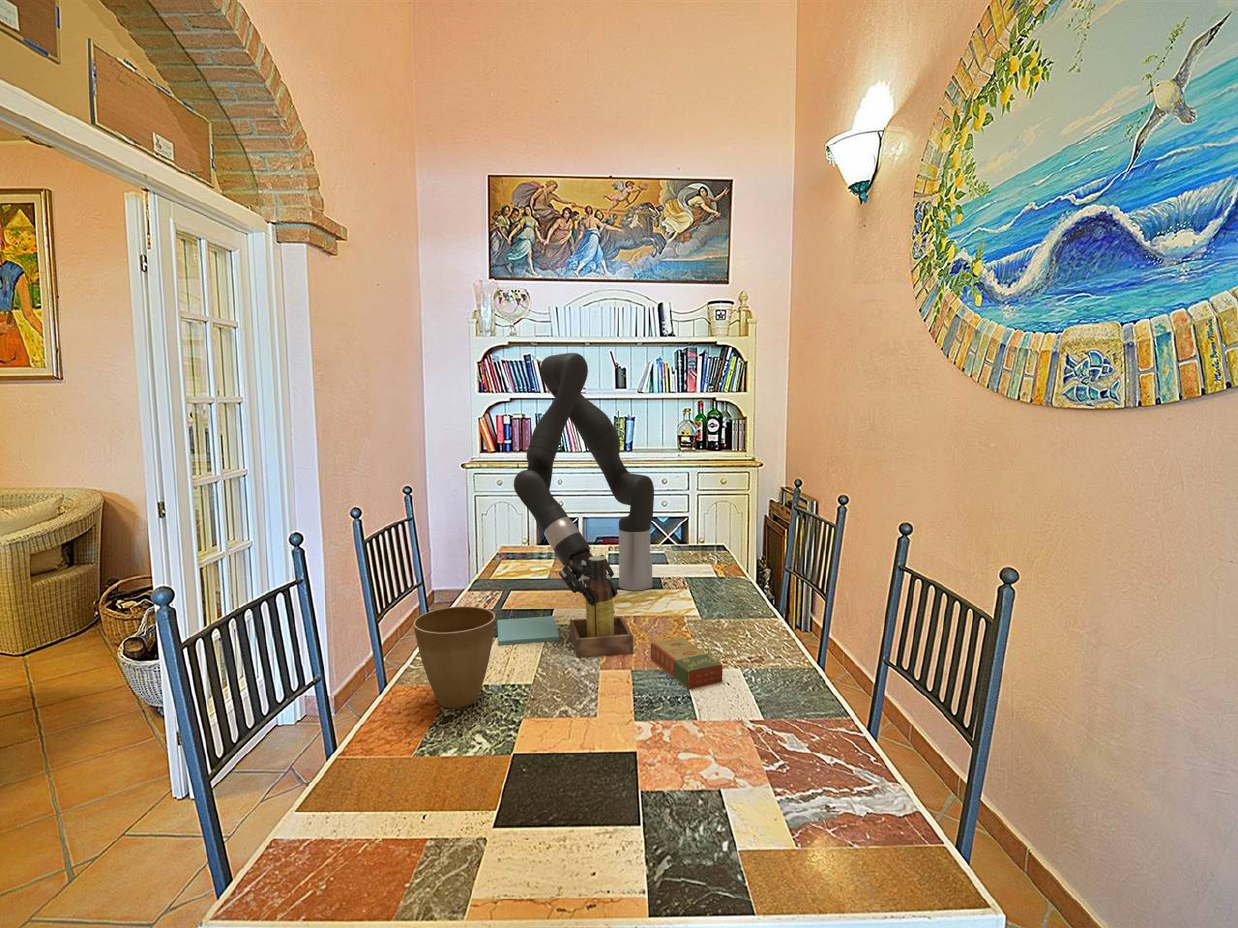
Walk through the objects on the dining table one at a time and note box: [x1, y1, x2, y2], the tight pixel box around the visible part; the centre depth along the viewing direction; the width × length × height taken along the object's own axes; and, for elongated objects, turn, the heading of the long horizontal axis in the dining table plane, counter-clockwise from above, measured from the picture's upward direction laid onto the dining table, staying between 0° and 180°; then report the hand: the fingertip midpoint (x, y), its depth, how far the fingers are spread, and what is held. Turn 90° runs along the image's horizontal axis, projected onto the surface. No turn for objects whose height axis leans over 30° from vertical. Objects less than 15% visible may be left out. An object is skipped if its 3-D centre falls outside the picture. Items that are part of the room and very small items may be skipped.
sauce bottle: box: [585, 555, 615, 638], centre depth 153 cm, size 7×6×20 cm
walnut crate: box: [569, 615, 634, 658], centre depth 154 cm, size 13×13×4 cm
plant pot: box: [412, 605, 496, 709], centre depth 127 cm, size 15×15×16 cm
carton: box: [650, 636, 724, 690], centre depth 140 cm, size 8×16×4 cm, turn 25°
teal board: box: [497, 615, 560, 646], centre depth 162 cm, size 14×14×1 cm
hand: (605, 599), depth 152 cm, fingers closed on sauce bottle, 6 cm apart
